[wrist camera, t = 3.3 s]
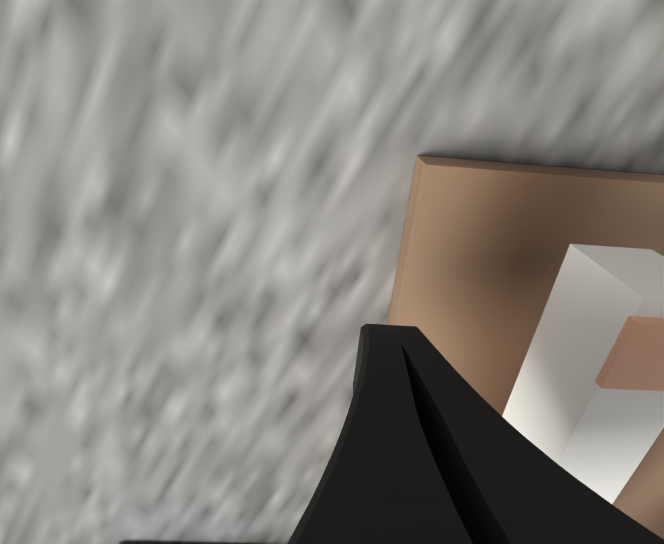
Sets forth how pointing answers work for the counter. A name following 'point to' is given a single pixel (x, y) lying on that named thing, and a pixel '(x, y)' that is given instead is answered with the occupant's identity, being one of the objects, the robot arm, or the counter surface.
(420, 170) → the board
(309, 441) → the counter surface
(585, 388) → the white long piece
